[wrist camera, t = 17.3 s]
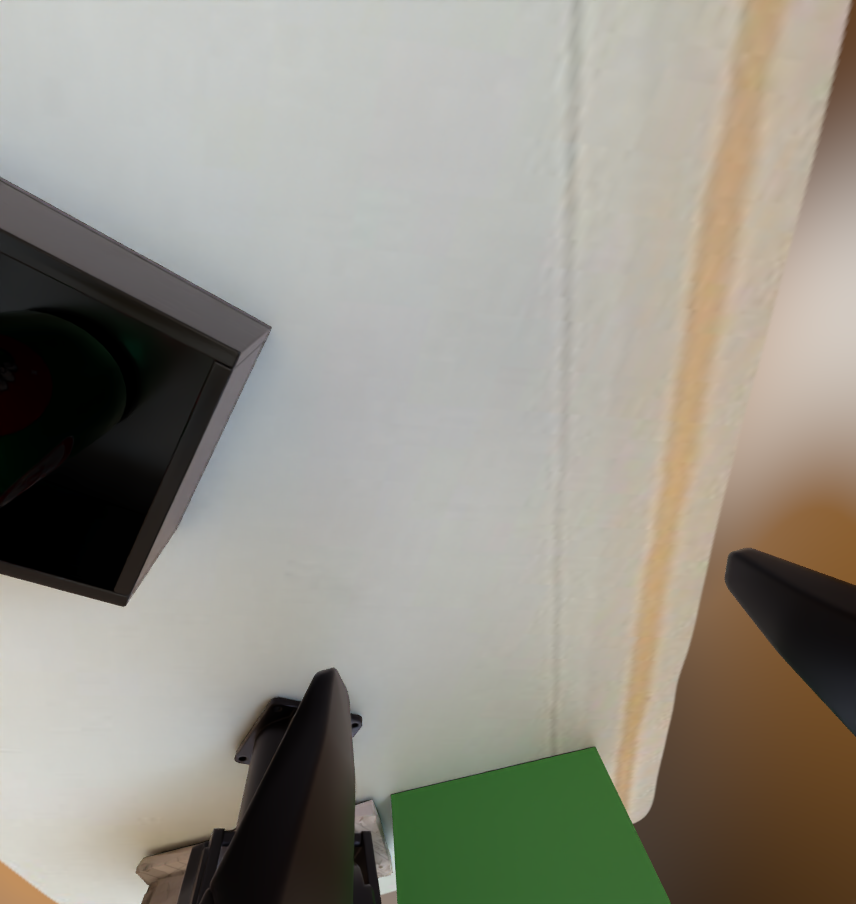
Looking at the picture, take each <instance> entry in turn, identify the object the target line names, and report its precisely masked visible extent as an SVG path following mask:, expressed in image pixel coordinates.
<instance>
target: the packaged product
mask: <svg viewBox="0 0 856 904" xmlns="http://www.w3.org/2000/svg"><path fill="white" fill-rule="evenodd" d="M234 831H236V830H234ZM361 831H371V835H372V842H373V849H374V856H375V862H376V869H377V876H378V878H380V877H384V876H389V875H391V874H392V873H393V872H392V863H391V856H390V852H389V849H388V846H387V843H386V840H385V837H384V833H383V829H382V825H381V821H380V817H379V815H378V813H377V810H376V808H375V805H374V803H373V800H370V801H367V802H364V803H361V804H357V805H355V831H354V833H360V832H361ZM201 844H202V843H201ZM197 845H199V844H197ZM197 845H193V846H189V847H185V848H181V849H177V850H173V851H169V852H165V853H161V854H157V855H153V856H149V857H145V858H143V860H142V861H141V862H140V864H139V865H138V866H137V869H136V874H138V875H139V876H140V877H141V878H142V879H143V880H144V882H145V883H146V884H147V885H150V886H149V888H148V890H147V893H146V894H145V895H144V898H143V901H142V903H141V904H176V902H177V899H178V895H179V891H180V888H181V884H182V881H183V877H184V873H185V870H186V866H187V863H188V859H189V856H190V852H191V849H192V847H194V846H197Z"/></svg>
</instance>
